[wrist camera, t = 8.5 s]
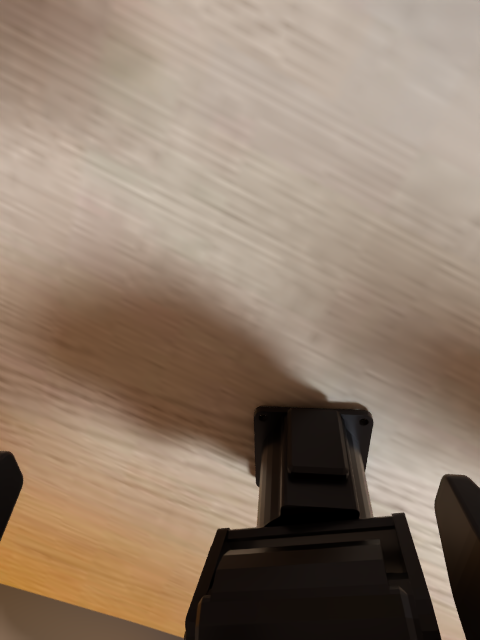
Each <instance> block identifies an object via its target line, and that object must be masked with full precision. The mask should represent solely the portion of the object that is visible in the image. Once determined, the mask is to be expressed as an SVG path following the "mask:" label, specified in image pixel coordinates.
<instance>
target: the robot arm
mask: <svg viewBox="0 0 480 640" xmlns="http://www.w3.org/2000/svg"><path fill="white" fill-rule="evenodd" d="M260 415H266V416H264V417H263V416H260ZM361 419H366V420H361ZM372 427H373V418H372V414H371V413H370V412H368V411H365V410H345V409H318V408H291V407H264V406H263V407H258V408H257V409H256V410H255V413H254V434H255V466H256V484H257V486H258V487H259V502H258V517H257V527H256V528H245V529H233V530H230V528H221V529H218V530H217V532H216V535H215V538H214V541H213V544H212V546H211V548H210V551H209V554H208V557H207V559H206V562H205V565H204V568H203V571H202V573H201V576H200V579H199V582H198V585H197V588H196V590H195V593H194V596H193V599H192V602H191V604H190V607H189V610H188V613H187V616H186V621H185V628H186V631H185V635H184V640H441V636H440V632H439V628H438V624H437V620H436V616H435V613H434V609H433V605H432V602H431V598H430V595H429V591H428V588H427V585H426V582H425V578H424V575H423V572H422V569H421V565H420V562H419V559H418V556H417V552H416V549H415V546H414V543H413V539H412V536H411V533H410V530H409V526H408V523H407V520H406V517H405V514H404V513H394V514H392V516H385V517H373V512H372V507H371V502H370V497H369V492H368V487H367V482H366V477H365V469H366V463H367V457H368V451H369V445H370V439H371V433H372ZM22 485H23V475H22V473H21V471H20V468H19V466H18V464H17V462H16V460H15V457H14V455H13V454H12V453H11V452H8V451H0V541H1V538H2V536H3V533H4V531H5V528H6V526H7V524H8V521H9V519H10V516H11V514H12V511H13V509H14V506H15V504H16V501H17V499H18V496H19V494H20V491H21V489H22ZM435 514H436V519H437V524H438V529H439V533H440V538H441V543H442V548H443V553H444V557H445V562H446V567H447V572H448V576H449V581H450V586H451V590H452V594H453V598H454V601H455V605H456V608H457V611H458V615H459V618H460V621H461V624H462V627H463V630H464V633H465V637H466V640H480V488H479V487H478V486H477V485H476V484H475V483H474V482H473V481H472V480H471V479H470V478H469V477H467V476H465V475H454V474H446V475H444V476H443V477H442V479H441V482H440V486H439V489H438V492H437V495H436V499H435Z"/></svg>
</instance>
